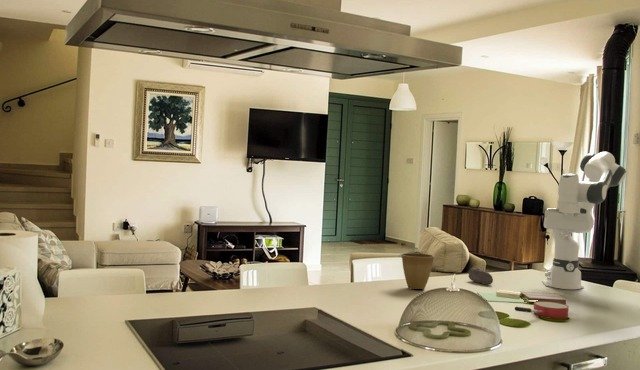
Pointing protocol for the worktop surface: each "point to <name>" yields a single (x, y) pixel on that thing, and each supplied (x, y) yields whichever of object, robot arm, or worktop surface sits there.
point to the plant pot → (417, 269)
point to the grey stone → (480, 276)
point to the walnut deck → (543, 297)
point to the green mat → (499, 298)
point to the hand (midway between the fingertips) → (565, 239)
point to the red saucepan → (547, 309)
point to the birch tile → (508, 294)
